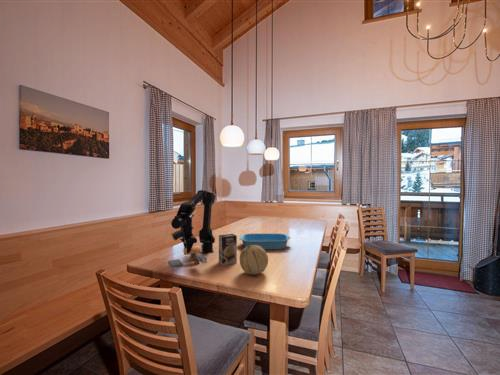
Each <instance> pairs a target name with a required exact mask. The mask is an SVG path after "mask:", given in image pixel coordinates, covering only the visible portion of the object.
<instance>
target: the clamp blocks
mask: <svg viewBox="0 0 500 375" xmlns="http://www.w3.org/2000/svg"><path fill="white" fill-rule="evenodd" d="M196 254H197V253H194V254H190V261H192V262H193V264H194V265H199V264H200V261H199V260H198V259H197V258H196Z"/></svg>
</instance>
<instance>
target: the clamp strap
mask: <svg viewBox="0 0 500 375" xmlns="http://www.w3.org/2000/svg"><path fill="white" fill-rule="evenodd" d="M196 258H197V259H198V260H199V263H201V264H207V263H208V259H207V257H206V256H205V255H204V254H202V252H200V253H196Z"/></svg>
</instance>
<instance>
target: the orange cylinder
mask: <svg viewBox="0 0 500 375" xmlns="http://www.w3.org/2000/svg"><path fill="white" fill-rule="evenodd" d="M201 250H202V247H201V246H200V245H195V246H194V245H193V246H192V248H191V251H190V253H187V249H186V248H184V247H183V255H184V256H187V255H191V254H194V253H196V254H197V253H202V251H201Z"/></svg>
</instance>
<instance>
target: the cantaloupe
mask: <svg viewBox="0 0 500 375" xmlns="http://www.w3.org/2000/svg"><path fill="white" fill-rule="evenodd" d="M268 263H269V256H268V254H267V252H266V249H263V248H262V247H261V246H258V245H250V246H249V245H248V247H246V248H245V247H244V248H243V249H242V250H241V252H240V254H239V265H240V268H241V269H242V270H243V271H244V272H245V274H248V275H252V276H254V275H259V274H261V273H263V272H264V271H265V270H266V269H267V267H268Z"/></svg>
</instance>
